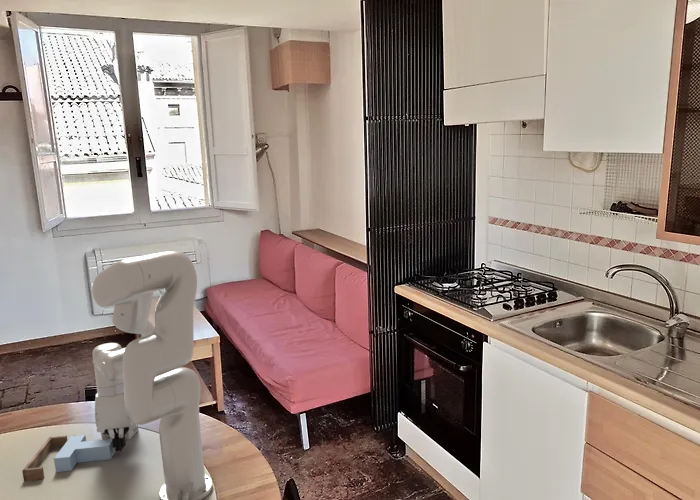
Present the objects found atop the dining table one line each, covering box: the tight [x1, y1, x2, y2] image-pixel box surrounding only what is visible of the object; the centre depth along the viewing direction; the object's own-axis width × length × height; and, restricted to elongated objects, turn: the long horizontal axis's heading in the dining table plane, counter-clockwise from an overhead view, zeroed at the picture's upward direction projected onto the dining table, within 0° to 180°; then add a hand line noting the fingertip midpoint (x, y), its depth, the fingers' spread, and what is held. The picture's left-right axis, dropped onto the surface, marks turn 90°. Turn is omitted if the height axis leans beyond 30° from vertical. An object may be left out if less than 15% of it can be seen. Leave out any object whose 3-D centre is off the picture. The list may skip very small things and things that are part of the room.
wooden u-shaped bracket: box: [21, 435, 68, 482], centre depth 154 cm, size 18×5×3 cm, turn 7°
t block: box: [53, 434, 116, 473], centre depth 155 cm, size 12×13×4 cm
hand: (119, 449), depth 156 cm, fingers closed
